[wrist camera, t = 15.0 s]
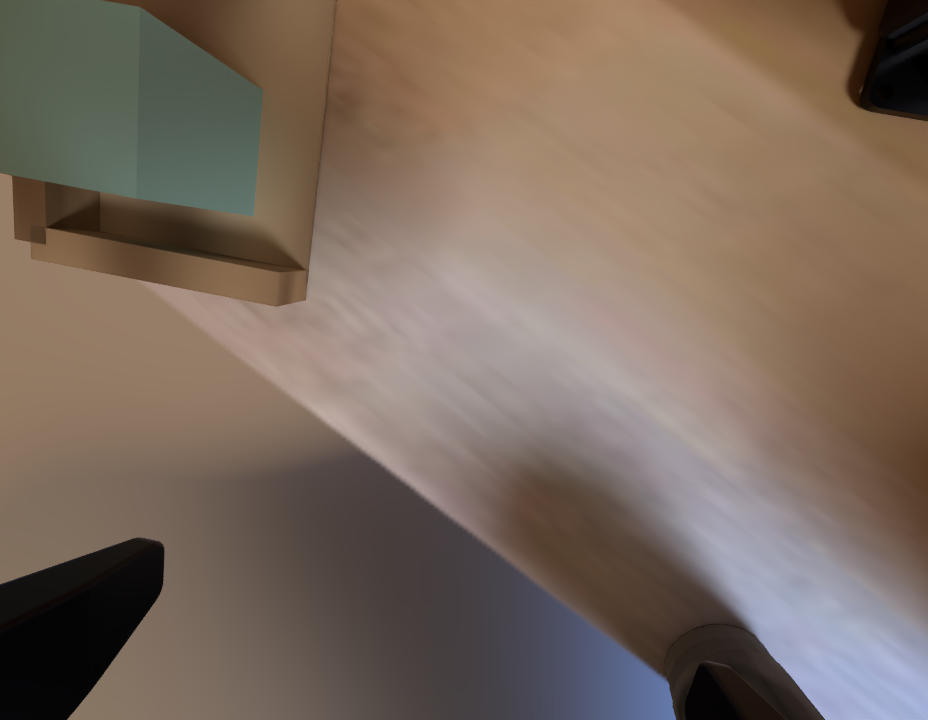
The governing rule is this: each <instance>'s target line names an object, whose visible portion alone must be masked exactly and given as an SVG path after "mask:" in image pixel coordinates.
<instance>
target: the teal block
mask: <svg viewBox="0 0 928 720" xmlns="http://www.w3.org/2000/svg"><path fill="white" fill-rule="evenodd" d="M262 99H263V90H262V89H260V88H259V87H257V86H256V85H254V84H253V83H251V82H250V81H248V80H247V79H245V78H244V77H242V76H241V75H240V74H238V73H237V72H235V71H234V70H232V69H231V68H229V67H228V66H226V65H225V64H223V63H222V62H220V61H219V60H217V59H216V58H215V57H213V56H212V55H210V54H209V53H207V52H206V51H204V50H203V49H201V48H200V47H198V46H197V45H195V44H194V43H192V42H191V41H189V40H188V39H187V38H185V37H184V36H182V35H181V34H179V33H178V32H176V31H175V30H173V29H172V28H170V27H169V26H167V25H166V24H164V23H163V22H162V21H160V20H159V19H157V18H156V17H154V16H153V15H151V14H150V13H148V12H147V11H145V10H144V9H142V8H141V7H137V6H131V5H126V4H120V3H114V2H108V1H102V0H0V173H3V174H8V175H14V176H19V177H24V178H30V179H35V180H40V181H46V182H51V183H56V184H62V185H67V186H72V187H77V188H83V189H88V190H93V191H99V192H104V193H109V194H115V195H120V196H125V197H131V198H136V199H142V200H149V201H155V202H162V203H168V204H175V205H182V206H188V207H195V208H201V209H208V210H214V211H221V212H227V213H234V214H240V215H247V216H253V217H254V206H255V192H256V179H257V166H258V153H259V139H260V126H261V113H262Z"/></svg>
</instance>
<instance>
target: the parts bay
mask: <svg viewBox="0 0 928 720" xmlns="http://www.w3.org/2000/svg"><path fill="white" fill-rule="evenodd" d="M102 1H108V2H114V3H120V4H126V5H131V6H137V7H141V8H142V9H144V10H145V11H147V12H148V13H150V14H151V15H153V16H154V17H156V18H157V19H159V20H160V21H162V22H163V23H164V24H166V25H167V26H169V27H170V28H172V29H173V30H175V31H176V32H178V33H179V34H181V35H182V36H184V37H185V38H187V39H188V40H189V41H191V42H192V43H194V44H195V45H197V46H198V47H200V48H201V49H203V50H204V51H206V52H207V53H209V54H210V55H212V56H213V57H215V58H216V59H217V60H219V61H220V62H222V63H223V64H225V65H226V66H228V67H229V68H231V69H232V70H234V71H235V72H237V73H238V74H240V75H241V76H242V77H244V78H245V79H247V80H248V81H250V82H251V83H253V84H254V85H256V86H257V87H259V88H260V89H262V90H263V99H262V113H261V126H260V139H259V153H258V166H257V179H256V192H255V206H254V217H253V216H247V215H240V214H234V213H227V212H221V211H214V210H208V209H201V208H195V207H188V206H182V205H175V204H168V203H162V202H155V201H149V200H142V199H136V198H131V197H125V196H120V195H115V194H109V193H104V192H99V191H93V190H88V189H83V188H77V187H72V186H67V185H62V184H56V183H51V182H46V181H40V180H35V179H30V178H24V177H19V176H14V175H12V180H13V206H14V230H15V231H14V232H15V239H18V240H23V241H29V242H31V259H34V260H40V261H45V262H50V263H55V264H61V265H66V266H70V267H76V268H81V269H86V270H91V271H96V272H101V273H106V274H112V275H117V276H122V277H127V278H132V279H137V280H142V281H147V282H153V283H158V284H163V285H168V286H173V287H178V288H183V289H189V290H194V291H199V292H204V293H209V294H214V295H219V296H225V297H230V298H235V299H240V300H245V301H250V302H255V303H261V304H266V305H271V306H276V307H277V306H281V305H286V304H290V303H295V302H299V301H304V300H306V291H307V281H308V272H309V262H310V252H311V242H312V233H313V223H314V213H315V203H316V194H317V184H318V174H319V165H320V155H321V145H322V135H323V126H324V116H325V106H326V96H327V87H328V77H329V67H330V57H331V48H332V38H333V28H334V18H335V9H336V0H102Z"/></svg>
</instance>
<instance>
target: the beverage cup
mask: <svg viewBox="0 0 928 720" xmlns="http://www.w3.org/2000/svg"><path fill="white" fill-rule="evenodd" d="M702 661H710V662H715V663H719V664H724V665H727V666H729V667H731V668H732V669H733V670H734V671H735V672H736V673H737V674H738V675H739V676H741V677H742V678H743V679H744V680H745V681H746V682H747V683H748V684H749V685H750V686H751V687H752V688H753V689H754V690H756V691H757V692H758V693H759V694H760V695H761V696H762V697H763V698H764V699H765V700H766V701H767V702H768V703H770V704H771V705H772V706H773V707H774V708H775V709H776V710H777V711H778V712H779V713H780V714H781V715H782V716H783V717H785V718H786V719H787V720H825V719H824V718H823V716H822V715H821V714H820V713H819V711H818V710H817V709H816V708H815V706H814V705H813V704H812V703H811V701H810V700H809V699H808V698H807V696H806V695H805V694H804V693H803V691H802V690H801V689H800V688H799V686H798V685H797V684H796V683H795V681H794V680H793V679H792V678H791V676H790V675H789V674H788V673H787V672H786V671H785V670H784V668H783V667H782V666H781V665H780V664H779V663H777V662H776V661H775V659H774V658H773V657H772V656H771V655H770V654H769V652H768V651H767V649H766V648H765V647H764V645H763V644H762V643H761V642H760V641H759V640H758V639H757V637H756V636H754V635H752V634H751V633H749V632H747V631H746V630H744V629H742V628H738V627H734V626H730V625H726V624H721V625H706V626H703V627H699V628H696V629H693V630H691V631H689V632H688V633H686V634H685V635H683V636H681V637H680V638H679V639H678V640H677V641H676V642H675V643H674V645H673V646H672V647H671V648H670V650H669V653H668V655H667V658H666V660H665V674H666V677H667V680H668V682H669V685H670V692H671V696H672V700H673V709H674V713H675V716H676V720H686V719H685V700H686V696H687V694H688V691H689V688H690V685H691V682H692V680H693V677H694V674H695V671H696V668H697V666H698V664H699V663H700V662H702Z"/></svg>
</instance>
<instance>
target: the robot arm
mask: <svg viewBox="0 0 928 720" xmlns="http://www.w3.org/2000/svg"><path fill="white" fill-rule="evenodd" d="M879 32H880V39H879V42H878V45H877V48H876V51H875V54H874V57H873V60H872V62H871V65H870V68H869V71H868V74H867V77H866V80H865V83H864V86H863V89H862V92H861V97H860V101H861V105H862V106H863V107H864V109H865V110H868V111H870V112H875V113H881V114H887V115H893V116H899V117H905V118H911V119H917V120H923V121H928V0H888V3H887V6H886V9H885V12H884V15H883V17H882V20H881V23H880V26H879ZM879 87H880V88H882V89H883V90H884V92H885V95H884V98H883V100H881V99H879V97H878V95H877V92H878V89H879ZM163 574H164V546H163V544H162V543H161V542H159V541H155V540H150V539H146V538H134V539H131V540H128V541H125V542H122V543H119V544H116V545H113V546H110V547H107V548H105V549H102V550H99V551H96V552H93V553H90V554H87V555H85V556H81V557H78V558H76V559H73V560H70V561H67V562H64V563H61V564H58V565H55V566H52V567H49V568H46V569H44V570H41V571H38V572H35V573H32V574H29V575H26V576H23V577H21V578H17V579H15V580H12V581H9V582H6V583H3V584H0V720H67V719H68V718H69V717H70V715H71V714H72V713H73V712H74V711H75V710H76V708H77V707H78V706H79V704H80V703H81V702H82V701H83V700H84V698H85V697H86V696H87V695H88V694H89V692H90V691H91V690H92V689H93V687H94V686H95V684H96V683H97V682H98V680H99V679H100V678H101V677H102V675H103V674H104V672H105V671H106V670H107V668H108V667H109V666H110V664H111V662H112V661H113V660H114V658H115V657H116V656H117V654H118V653H119V652H120V650H121V649H122V647H123V646H124V645H125V643H126V642H127V640H128V639H129V637H130V636H131V635H132V633H133V632H134V631H135V629H136V628H137V626H138V625H139V624H140V622H141V621H142V620H143V618H144V617H145V615H146V614H147V613H148V611H149V610H150V608H151V607H152V605H153V604H154V603H155V601H156V600H157V598H158V596H159V595H160V592H161V590H162V586H163V577H164V576H163ZM685 719H686V720H787V719H786V718H785V717H783V716H782V715H781V714H780V713H779V712H778V711H777V710H776V709H775V708H774V707H773V706H772V705H771V704H770V703H768V702H767V701H766V700H765V699H764V698H763V697H762V696H761V695H760V694H759V693H758V692H757V691H756V690H754V689H753V688H752V687H751V686H750V685H749V684H748V683H747V682H746V681H745V680H744V679H743V678H742V677H741V676H739V675H738V674H737V673H736V672H735V671H734V670H733V669H732V668H731V667H729V666H727V665H724V664H719V663H715V662H710V661H702V662H700V663H699V664H698V666H697V668H696V671H695V674H694V677H693V680H692V682H691V685H690V688H689V691H688V694H687V696H686V700H685Z"/></svg>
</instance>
